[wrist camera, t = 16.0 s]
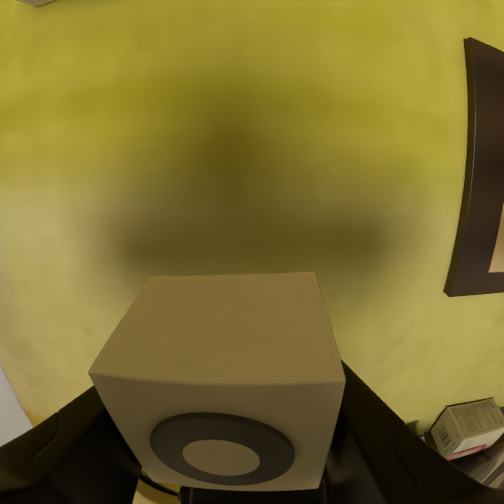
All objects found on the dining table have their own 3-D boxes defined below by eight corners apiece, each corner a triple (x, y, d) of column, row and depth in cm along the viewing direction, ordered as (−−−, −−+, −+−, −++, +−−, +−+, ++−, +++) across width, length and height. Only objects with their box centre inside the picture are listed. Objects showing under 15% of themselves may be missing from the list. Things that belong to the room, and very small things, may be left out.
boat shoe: (493, 423, 31) (501, 476, 25) (338, 509, 23) (350, 575, 18) (546, 404, 22) (553, 465, 16) (396, 525, 15) (404, 602, 9)
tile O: (307, 388, 10) (319, 494, 6) (179, 387, 10) (150, 487, 6) (315, 270, 8) (349, 388, 4) (151, 275, 8) (81, 378, 5)
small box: (441, 463, 21) (489, 449, 21) (463, 439, 20) (510, 425, 20) (428, 430, 26) (475, 420, 26) (446, 405, 24) (492, 396, 24)
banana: (121, 524, 28) (72, 453, 23) (122, 498, 33) (81, 419, 28) (211, 524, 31) (197, 456, 26) (206, 497, 36) (192, 420, 31)
